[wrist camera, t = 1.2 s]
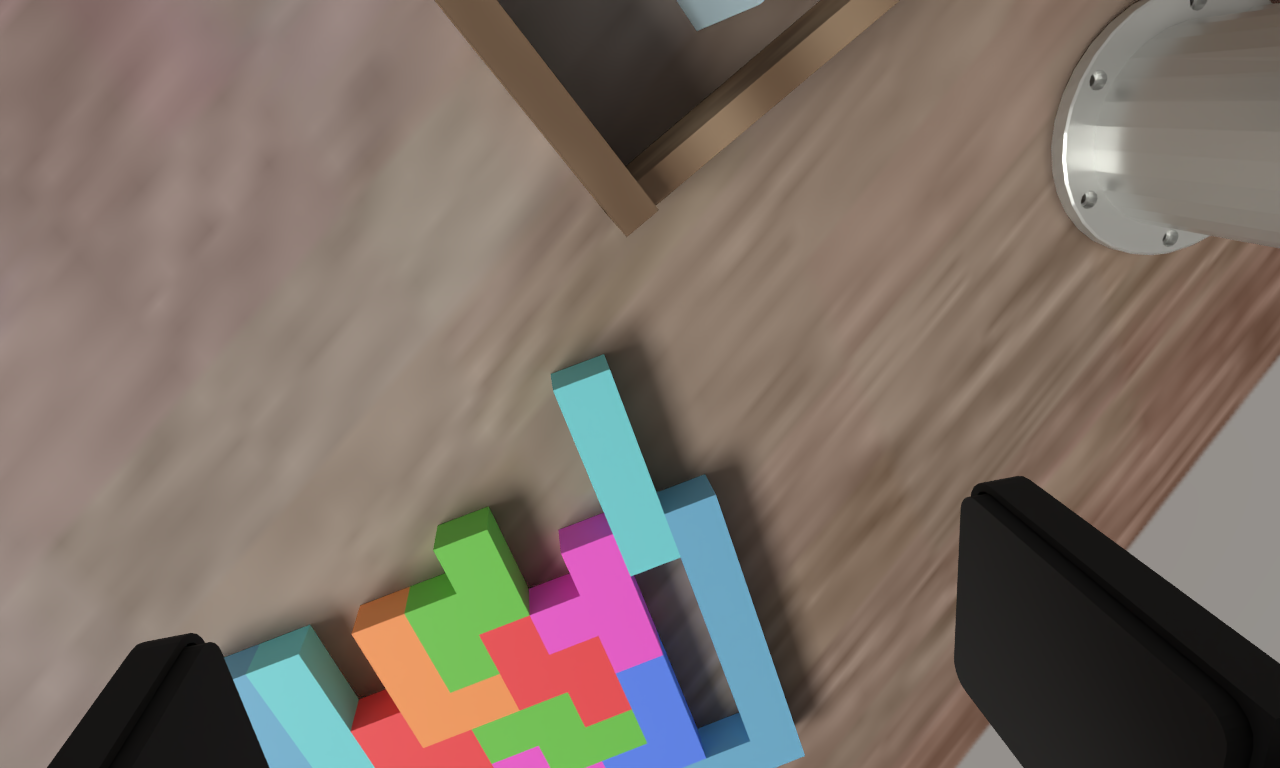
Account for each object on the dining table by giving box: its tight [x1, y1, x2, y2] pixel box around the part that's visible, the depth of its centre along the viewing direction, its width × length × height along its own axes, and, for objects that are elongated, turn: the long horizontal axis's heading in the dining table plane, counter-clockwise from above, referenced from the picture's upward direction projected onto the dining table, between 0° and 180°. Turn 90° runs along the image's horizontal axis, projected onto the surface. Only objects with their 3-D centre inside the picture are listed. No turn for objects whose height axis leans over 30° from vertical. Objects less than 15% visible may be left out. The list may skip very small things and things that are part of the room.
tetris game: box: [224, 354, 805, 768], centre depth 41 cm, size 28×3×28 cm
